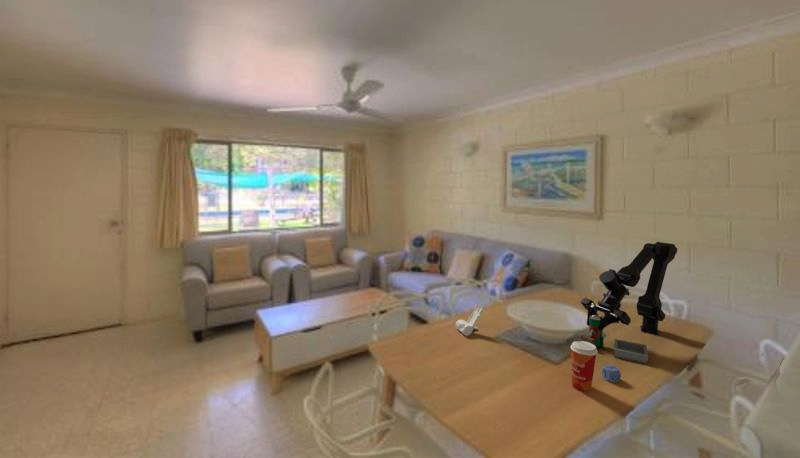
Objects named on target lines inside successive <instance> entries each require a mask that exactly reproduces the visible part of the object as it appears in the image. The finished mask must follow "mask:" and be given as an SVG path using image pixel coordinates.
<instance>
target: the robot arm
mask: <svg viewBox="0 0 800 458" xmlns="http://www.w3.org/2000/svg"><path fill="white" fill-rule="evenodd" d="M677 253H678V247H676V245H675V244H674V243H669V242H664V241H663V242H662V241H656V242H655V243H649V242H648V243H645V244H644V245H643V248H642V249H641V250H640V251H639V252H638V254H637V255H636V256H635V257H634V259H633V260H631V262H630V263H629V264H628V265H625V266H623V267H621V268H620V269H618V271H617V272H616V270H615V269H611V268H609V270H607V271H603V272H602V273H600V274H599V276H598V277H599V278H598V279H599V281H600V282H601V283H602V285H603V287H604V288H605V289H606V290H608V291H607V292H606V293H604V292H603V294H602V296H603V298H602V299H601V301H600V300H598V301H597V304H596V303H595V301H593V300H591V299H589V298H587V297H584V298H582V299H581V300H580V302H579V303H580V304H581V305H582V307H584V309H585V310H587V319H586V325H587V327H589V317H590V315H592V314H596V315H599V313H598V312H601V313H603V315H604V316H603V317H602V318H603V319H602V321H601V323H600V325H599V327H598V330H599V331H600V330H602V329H603V328H604V329H605V328H607V327H608V326H609V325H612V324H619V323H621V324H623V325H626V326H629V325H630V324H631V321H632V320H631V317H630V316H629V314H628V313H627V312H626V311H624V310H621V307H622V303H621V302H622V301H623V300H624V298H625V296H630V291H629V288H634V287H636V286H637V284H638V283H639V281H640V280H641V273H642V272H643V270H644V269H645V268H646V267H647V265H648V264H649V263H650V262H651V261H652V260H653V263H652V267H651V272H650V275H649V278H648V282H647V286H646V289H645V293H643V295H639V296H638V299H637V303H636V312H637V315H638V316H641V317H642V323H641V325H639V326H640V327H639V329H640V331H641V332H642V333H643V332H644V333H648V334H649V333H650V334H654V335H660V330H659V322H664V320H665V319H666V313H665V312H664V311H663V309H662V306H663V303H662V300H661V298H660V296H661V290H662V287H663V283H664V280H665V276H666V272H667V267H668V264H670V263H671V262H672V261H673V260H674V259H675V258H676V255H677ZM627 287H629V288H627Z"/></svg>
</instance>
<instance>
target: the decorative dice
mask: <svg viewBox="0 0 800 458" xmlns="http://www.w3.org/2000/svg"><path fill="white" fill-rule="evenodd" d="M601 374H602V378H604V380H606V381H608V382H610V383H617V382H619V381H620V379H621V377H622V373H621V371H620V369H619V368H618V367H617V366H614V365H610V364H607V365H604V366H603V367H602V368H601Z"/></svg>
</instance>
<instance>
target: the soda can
mask: <svg viewBox="0 0 800 458" xmlns="http://www.w3.org/2000/svg"><path fill="white" fill-rule="evenodd" d="M603 317H604V316H602V315H601V314H598V315H596V314H592V315H590V317H589V326H588V336H589V337H591V338H593V339H595V346H596V348H603V347H604V345H605V344H604V343H605V341H604V337H605V336H604V335H605V334H604V333H605V331H604V329H605V328H603V329H602V330H600V331H599V330H598V327H599V325H600V323H601V321H602V319H603Z"/></svg>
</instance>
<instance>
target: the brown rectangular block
mask: <svg viewBox="0 0 800 458" xmlns="http://www.w3.org/2000/svg"><path fill="white" fill-rule="evenodd" d="M579 341H585V342H589V343H591V344H593V345H595V339H593V338H591V337H589V335H586V334H581V335H580V340H579Z"/></svg>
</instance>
